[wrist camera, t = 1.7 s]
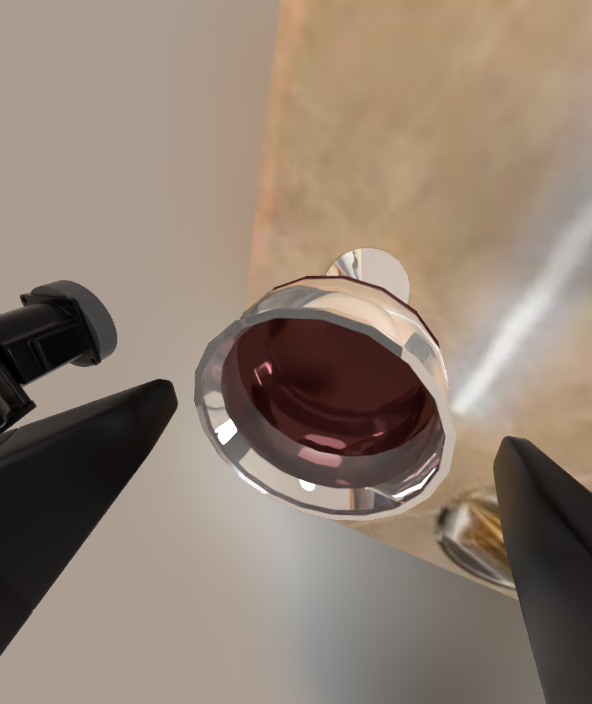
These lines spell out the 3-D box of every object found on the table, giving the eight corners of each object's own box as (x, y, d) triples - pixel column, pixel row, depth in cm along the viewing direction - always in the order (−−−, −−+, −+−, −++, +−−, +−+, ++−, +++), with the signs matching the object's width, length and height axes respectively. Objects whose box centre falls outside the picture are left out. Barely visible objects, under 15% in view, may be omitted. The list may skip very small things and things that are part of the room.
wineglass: (293, 314, 20) (176, 446, 10) (337, 208, 16) (221, 246, 6) (387, 362, 19) (365, 553, 9) (455, 264, 16) (541, 408, 6)
